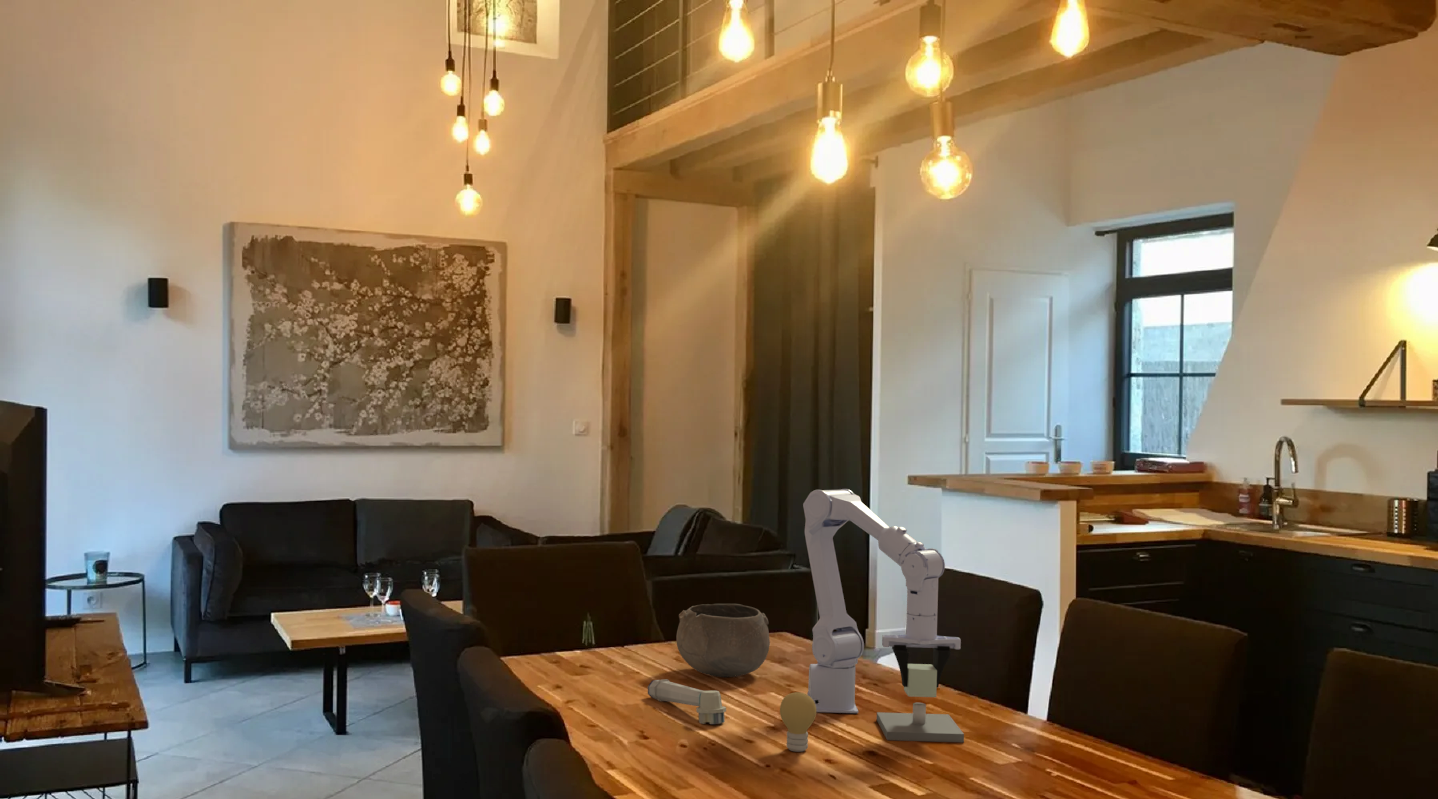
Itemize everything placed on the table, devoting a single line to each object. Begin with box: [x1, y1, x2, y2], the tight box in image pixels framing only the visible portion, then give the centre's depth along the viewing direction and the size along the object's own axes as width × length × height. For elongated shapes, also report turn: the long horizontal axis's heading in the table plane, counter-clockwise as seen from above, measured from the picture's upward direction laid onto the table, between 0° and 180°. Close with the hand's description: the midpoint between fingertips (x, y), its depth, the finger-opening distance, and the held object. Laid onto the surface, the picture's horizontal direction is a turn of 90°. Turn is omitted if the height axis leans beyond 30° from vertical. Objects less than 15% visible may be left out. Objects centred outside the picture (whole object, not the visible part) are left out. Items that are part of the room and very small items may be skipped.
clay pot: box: [676, 603, 771, 678], centre depth 259 cm, size 21×21×15 cm
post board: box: [876, 702, 965, 743], centre depth 216 cm, size 14×14×5 cm
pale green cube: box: [903, 663, 937, 698], centre depth 216 cm, size 5×5×5 cm
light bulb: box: [779, 691, 817, 753], centre depth 201 cm, size 6×6×10 cm
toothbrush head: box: [647, 678, 727, 725], centre depth 226 cm, size 5×7×25 cm
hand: (920, 686), depth 216 cm, fingers closed on pale green cube, 5 cm apart
